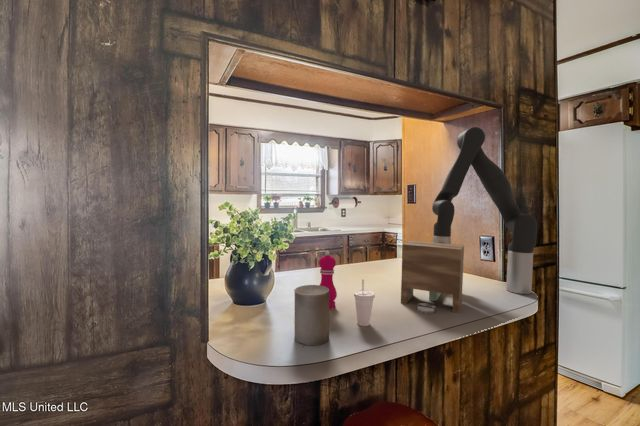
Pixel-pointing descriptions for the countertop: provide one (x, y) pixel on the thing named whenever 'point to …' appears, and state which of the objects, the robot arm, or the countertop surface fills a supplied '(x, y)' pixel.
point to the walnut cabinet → (432, 270)
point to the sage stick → (433, 295)
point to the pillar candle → (311, 314)
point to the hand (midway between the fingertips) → (440, 283)
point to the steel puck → (426, 308)
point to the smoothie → (363, 305)
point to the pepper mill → (328, 276)
